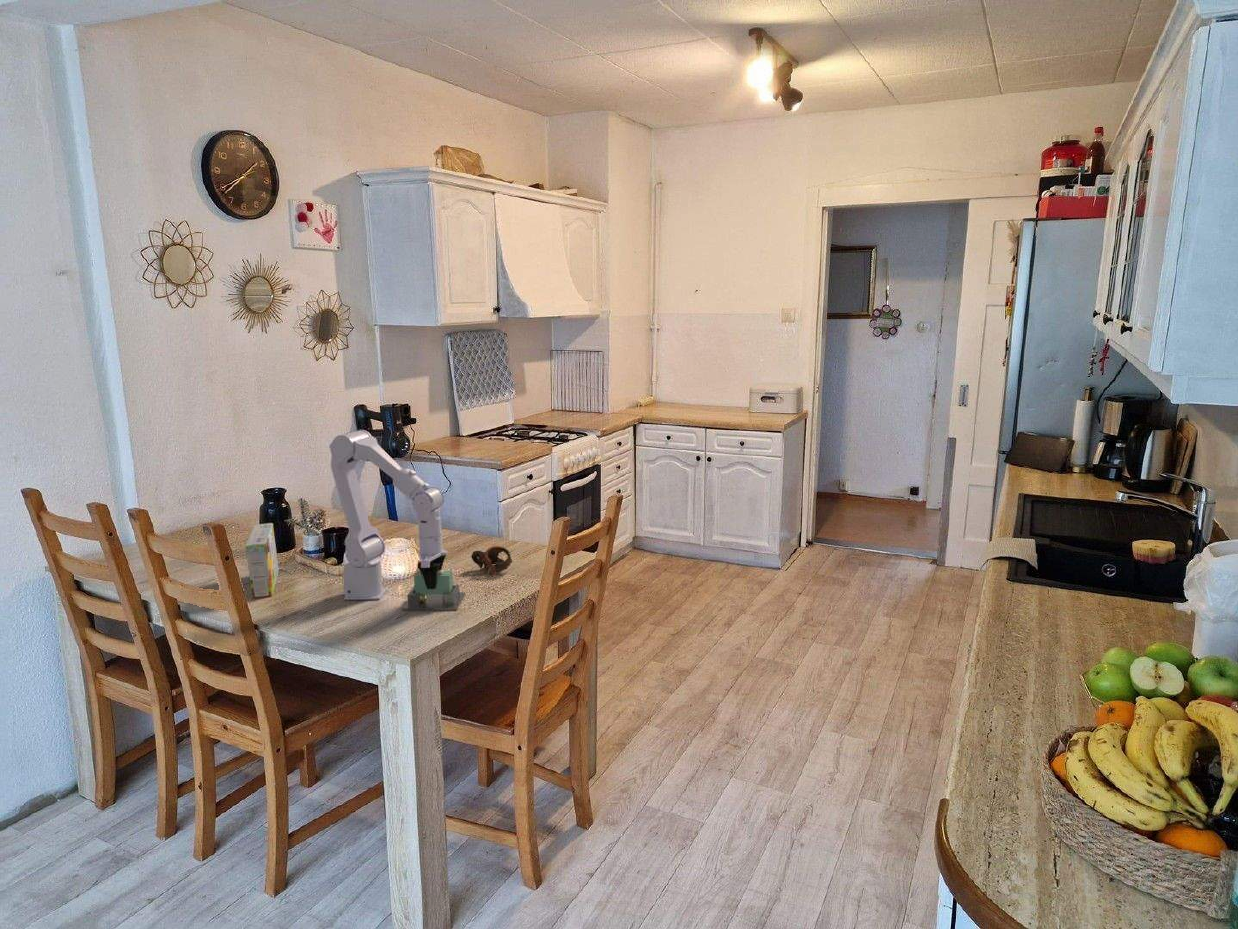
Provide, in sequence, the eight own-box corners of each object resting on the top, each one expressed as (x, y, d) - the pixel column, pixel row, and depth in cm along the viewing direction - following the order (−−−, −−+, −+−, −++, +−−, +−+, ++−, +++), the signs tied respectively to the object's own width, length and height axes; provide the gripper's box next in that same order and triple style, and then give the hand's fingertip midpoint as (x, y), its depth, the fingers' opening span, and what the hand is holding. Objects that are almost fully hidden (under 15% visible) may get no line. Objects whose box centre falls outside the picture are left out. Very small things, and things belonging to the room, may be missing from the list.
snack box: (259, 574, 233) (253, 524, 230) (279, 572, 235) (274, 522, 232) (250, 599, 214) (244, 545, 210) (273, 596, 215) (267, 542, 212)
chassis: (402, 610, 204) (401, 597, 203) (413, 595, 215) (412, 582, 214) (457, 610, 204) (456, 597, 203) (465, 594, 215) (464, 582, 214)
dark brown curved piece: (512, 565, 239) (516, 546, 234) (505, 589, 232) (509, 570, 227) (473, 556, 239) (476, 537, 234) (464, 579, 231) (467, 560, 226)
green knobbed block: (415, 594, 207) (413, 573, 206) (418, 588, 211) (417, 567, 210) (449, 594, 207) (448, 572, 206) (453, 588, 211) (451, 567, 210)
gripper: (439, 543, 199) (442, 595, 201) (451, 526, 213) (454, 575, 216) (411, 543, 199) (414, 595, 201) (425, 527, 213) (428, 575, 216)
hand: (433, 585), depth 209 cm, fingers open, 4 cm apart
